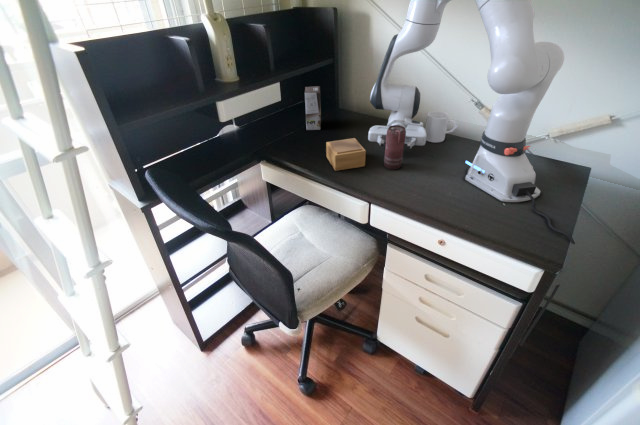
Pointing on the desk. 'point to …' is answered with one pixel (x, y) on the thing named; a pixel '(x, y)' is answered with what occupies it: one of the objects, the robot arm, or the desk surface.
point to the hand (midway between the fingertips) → (395, 145)
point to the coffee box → (313, 108)
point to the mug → (438, 126)
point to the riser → (345, 154)
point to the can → (394, 147)
